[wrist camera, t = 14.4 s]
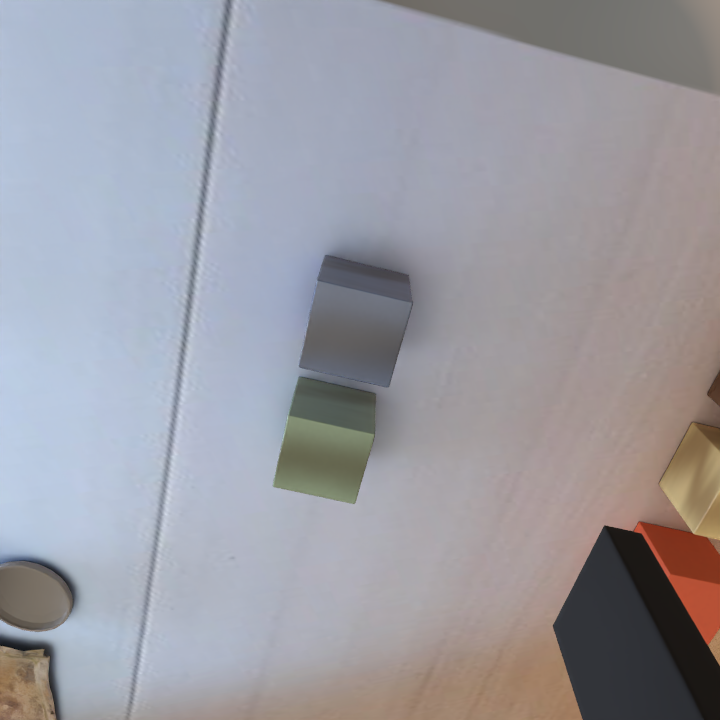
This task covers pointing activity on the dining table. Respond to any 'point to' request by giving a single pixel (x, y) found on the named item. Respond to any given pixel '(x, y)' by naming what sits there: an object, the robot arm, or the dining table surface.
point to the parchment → (25, 685)
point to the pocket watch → (33, 597)
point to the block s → (689, 572)
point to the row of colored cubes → (697, 476)
